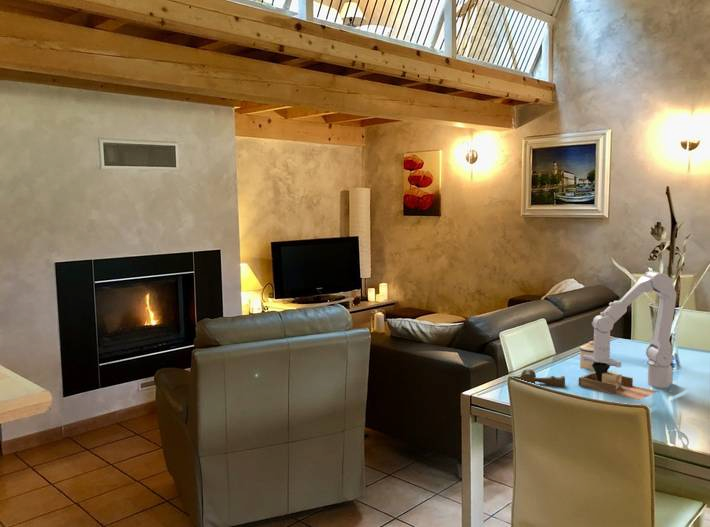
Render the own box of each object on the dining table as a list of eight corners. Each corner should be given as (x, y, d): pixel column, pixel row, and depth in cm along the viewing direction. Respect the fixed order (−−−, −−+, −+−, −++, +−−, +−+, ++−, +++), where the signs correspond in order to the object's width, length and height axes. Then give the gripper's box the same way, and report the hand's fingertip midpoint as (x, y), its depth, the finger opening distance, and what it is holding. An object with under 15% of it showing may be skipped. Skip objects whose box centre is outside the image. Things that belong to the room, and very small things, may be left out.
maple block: (608, 383, 224) (608, 371, 224) (621, 387, 221) (621, 374, 220) (601, 386, 221) (602, 373, 221) (614, 389, 217) (615, 376, 217)
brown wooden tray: (597, 380, 233) (597, 370, 232) (657, 393, 215) (657, 383, 215) (578, 387, 224) (578, 377, 223) (639, 402, 206) (639, 391, 206)
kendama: (564, 394, 219) (509, 387, 226) (564, 387, 228) (512, 381, 235) (565, 378, 219) (510, 372, 226) (565, 371, 228) (512, 366, 235)
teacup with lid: (604, 372, 244) (605, 344, 243) (581, 371, 246) (581, 343, 245) (599, 364, 255) (599, 338, 254) (577, 363, 258) (577, 337, 256)
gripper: (578, 345, 226) (577, 380, 227) (615, 352, 215) (614, 388, 216) (587, 342, 230) (587, 376, 232) (624, 349, 219) (623, 384, 220)
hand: (600, 382), depth 224 cm, fingers closed
